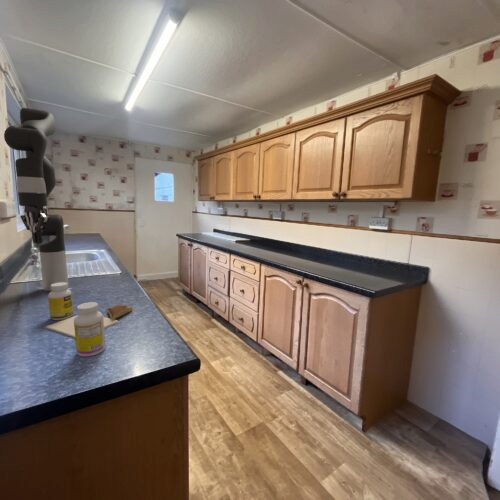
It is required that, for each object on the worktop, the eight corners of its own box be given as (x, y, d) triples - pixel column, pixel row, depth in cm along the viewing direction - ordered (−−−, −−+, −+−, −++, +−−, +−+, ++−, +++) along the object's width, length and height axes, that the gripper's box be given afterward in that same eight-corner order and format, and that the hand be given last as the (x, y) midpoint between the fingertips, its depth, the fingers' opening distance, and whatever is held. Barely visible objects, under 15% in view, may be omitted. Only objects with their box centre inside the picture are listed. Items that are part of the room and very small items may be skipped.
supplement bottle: (84, 344, 75) (81, 300, 73) (109, 344, 76) (106, 300, 74) (71, 358, 69) (66, 310, 66) (98, 357, 69) (95, 309, 67)
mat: (46, 328, 84) (46, 326, 84) (86, 313, 96) (86, 311, 96) (79, 339, 78) (79, 337, 78) (118, 322, 90) (118, 320, 89)
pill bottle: (61, 321, 89) (58, 287, 87) (45, 319, 90) (42, 286, 89) (78, 314, 95) (75, 282, 94) (62, 312, 97) (59, 280, 95)
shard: (112, 321, 89) (112, 315, 89) (92, 318, 91) (92, 313, 90) (133, 310, 99) (133, 306, 99) (115, 308, 101) (115, 304, 101)
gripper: (7, 191, 89) (13, 243, 92) (30, 191, 84) (37, 246, 87) (33, 192, 96) (38, 240, 99) (56, 192, 91) (61, 243, 94)
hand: (37, 243), depth 93 cm, fingers closed
